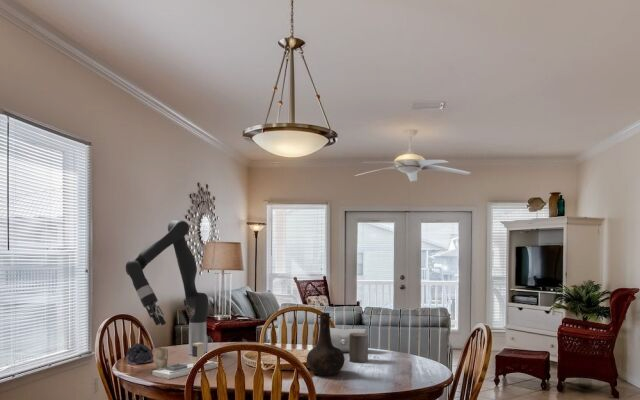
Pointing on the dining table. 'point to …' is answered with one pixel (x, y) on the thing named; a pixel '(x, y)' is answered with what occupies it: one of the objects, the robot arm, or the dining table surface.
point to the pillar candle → (358, 347)
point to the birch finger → (161, 357)
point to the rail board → (185, 364)
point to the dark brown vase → (325, 351)
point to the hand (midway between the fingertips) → (161, 324)
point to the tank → (343, 337)
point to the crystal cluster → (139, 354)
